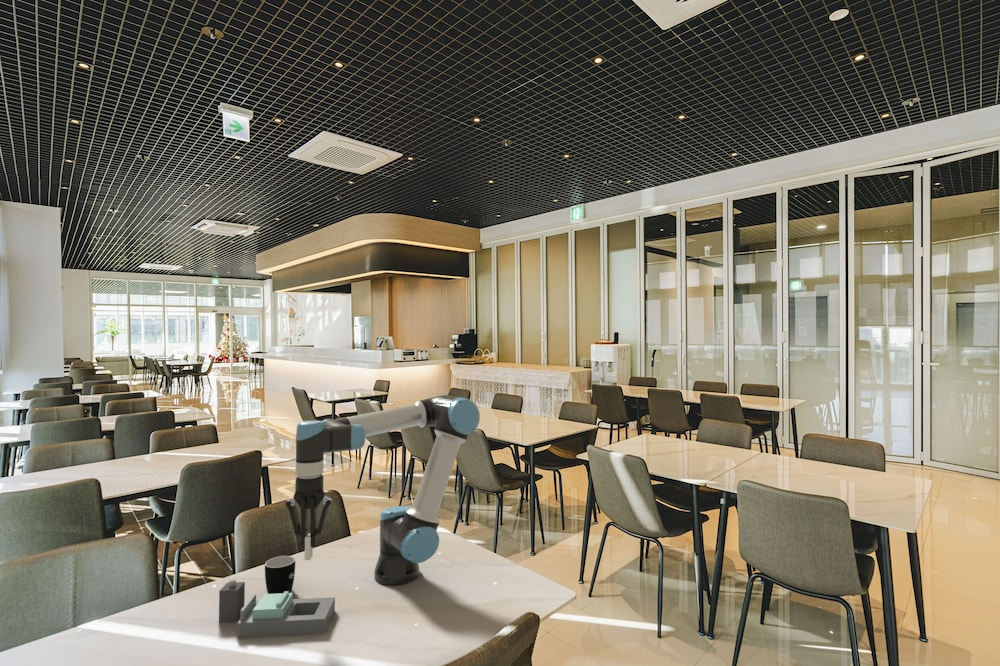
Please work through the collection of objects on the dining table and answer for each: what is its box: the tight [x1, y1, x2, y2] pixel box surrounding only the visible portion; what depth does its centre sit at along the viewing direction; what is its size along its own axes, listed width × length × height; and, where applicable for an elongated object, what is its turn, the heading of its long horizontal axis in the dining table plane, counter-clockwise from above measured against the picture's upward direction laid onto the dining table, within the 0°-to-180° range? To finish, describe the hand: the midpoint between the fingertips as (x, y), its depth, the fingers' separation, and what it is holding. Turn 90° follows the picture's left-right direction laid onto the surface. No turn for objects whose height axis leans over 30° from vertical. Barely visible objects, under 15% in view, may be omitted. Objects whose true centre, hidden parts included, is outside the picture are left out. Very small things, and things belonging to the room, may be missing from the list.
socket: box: [236, 593, 336, 639], centre depth 143 cm, size 23×12×7 cm, turn 96°
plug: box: [218, 578, 246, 623], centre depth 146 cm, size 5×5×11 cm
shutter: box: [252, 591, 294, 619], centre depth 142 cm, size 8×9×4 cm
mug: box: [264, 555, 296, 594], centre depth 162 cm, size 12×9×10 cm
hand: (308, 558), depth 144 cm, fingers closed
